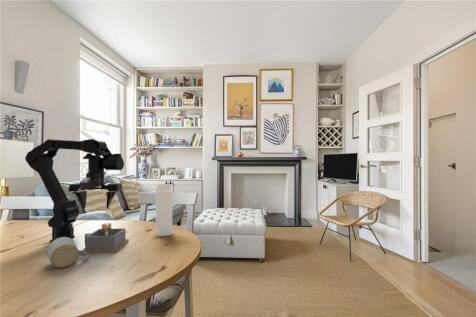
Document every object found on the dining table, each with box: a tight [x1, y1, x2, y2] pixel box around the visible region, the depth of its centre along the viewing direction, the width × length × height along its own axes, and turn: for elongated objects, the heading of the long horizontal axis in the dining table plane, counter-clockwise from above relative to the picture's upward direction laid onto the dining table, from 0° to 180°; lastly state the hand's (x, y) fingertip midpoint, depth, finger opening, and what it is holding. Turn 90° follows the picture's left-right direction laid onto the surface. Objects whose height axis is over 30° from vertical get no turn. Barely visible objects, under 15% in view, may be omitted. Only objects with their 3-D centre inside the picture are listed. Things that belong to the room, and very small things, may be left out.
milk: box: [155, 183, 173, 238], centre depth 109 cm, size 6×6×22 cm
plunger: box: [101, 222, 112, 236], centre depth 92 cm, size 8×8×7 cm
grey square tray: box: [80, 227, 130, 254], centre depth 92 cm, size 14×12×6 cm
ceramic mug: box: [46, 237, 90, 269], centre depth 78 cm, size 11×8×8 cm
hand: (96, 208), depth 100 cm, fingers open, 9 cm apart
